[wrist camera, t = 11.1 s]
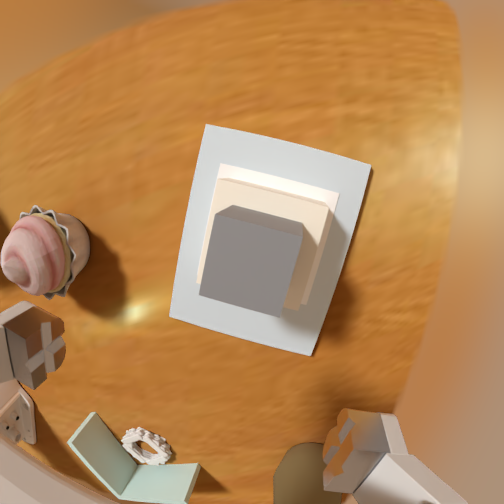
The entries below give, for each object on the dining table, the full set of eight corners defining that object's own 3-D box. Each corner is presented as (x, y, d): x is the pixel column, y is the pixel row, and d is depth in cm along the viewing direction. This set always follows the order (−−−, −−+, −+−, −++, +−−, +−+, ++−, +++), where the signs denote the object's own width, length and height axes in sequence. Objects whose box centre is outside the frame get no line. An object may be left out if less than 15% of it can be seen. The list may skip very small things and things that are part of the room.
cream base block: (298, 291, 28) (298, 311, 24) (209, 267, 28) (196, 282, 25) (324, 202, 26) (329, 207, 22) (229, 177, 26) (217, 178, 22)
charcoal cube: (283, 288, 24) (279, 317, 19) (218, 270, 24) (198, 294, 19) (301, 222, 22) (303, 236, 18) (232, 204, 23) (214, 214, 18)
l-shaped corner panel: (202, 464, 37) (187, 504, 30) (137, 465, 40) (118, 499, 33) (157, 402, 35) (133, 443, 28) (92, 410, 38) (66, 442, 31)
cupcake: (115, 225, 30) (48, 249, 20) (89, 299, 32) (32, 339, 23) (53, 184, 30) (-16, 194, 20) (34, 256, 32) (-27, 282, 23)
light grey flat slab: (310, 352, 30) (310, 356, 29) (171, 313, 31) (168, 316, 30) (369, 165, 25) (371, 165, 24) (207, 125, 26) (205, 123, 25)
